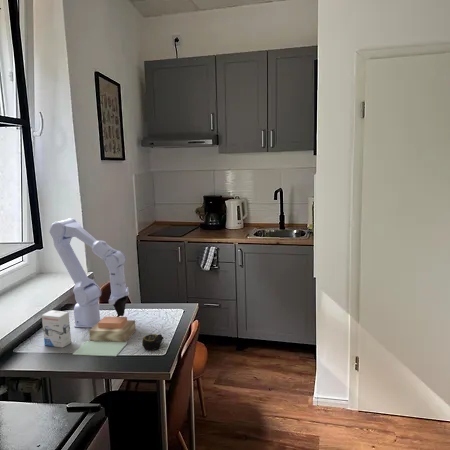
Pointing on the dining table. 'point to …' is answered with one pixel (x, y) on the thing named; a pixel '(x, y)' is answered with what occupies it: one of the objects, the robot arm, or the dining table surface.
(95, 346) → the mat
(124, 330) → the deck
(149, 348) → the tape measure
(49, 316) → the ink box
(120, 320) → the block
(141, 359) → the dining table surface
